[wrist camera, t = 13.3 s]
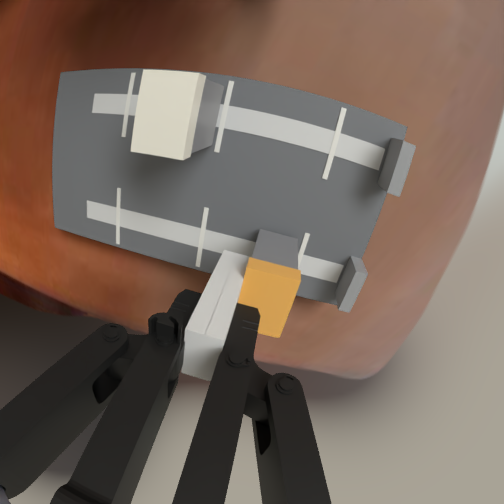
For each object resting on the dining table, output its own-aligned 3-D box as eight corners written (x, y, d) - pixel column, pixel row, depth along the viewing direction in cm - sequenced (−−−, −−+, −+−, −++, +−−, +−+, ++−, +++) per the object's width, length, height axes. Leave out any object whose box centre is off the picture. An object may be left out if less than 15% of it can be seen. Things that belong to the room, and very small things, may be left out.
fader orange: (246, 277, 20) (232, 326, 15) (258, 226, 18) (246, 267, 13) (283, 287, 19) (279, 338, 15) (299, 237, 18) (300, 281, 13)
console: (68, 218, 22) (40, 236, 19) (76, 73, 16) (43, 72, 13) (337, 290, 22) (343, 323, 18) (396, 125, 16) (420, 129, 12)
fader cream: (172, 139, 16) (130, 151, 12) (183, 79, 14) (143, 69, 10) (213, 147, 16) (182, 160, 11) (226, 84, 14) (199, 73, 10)
